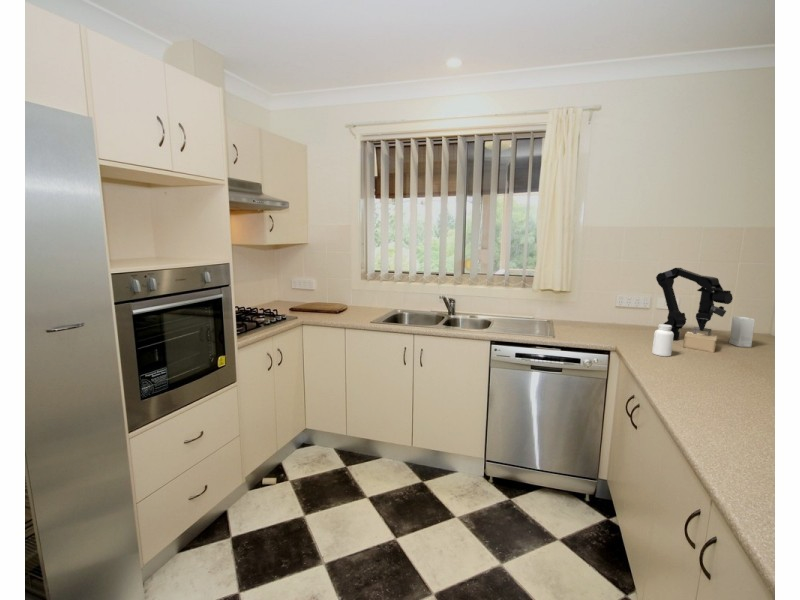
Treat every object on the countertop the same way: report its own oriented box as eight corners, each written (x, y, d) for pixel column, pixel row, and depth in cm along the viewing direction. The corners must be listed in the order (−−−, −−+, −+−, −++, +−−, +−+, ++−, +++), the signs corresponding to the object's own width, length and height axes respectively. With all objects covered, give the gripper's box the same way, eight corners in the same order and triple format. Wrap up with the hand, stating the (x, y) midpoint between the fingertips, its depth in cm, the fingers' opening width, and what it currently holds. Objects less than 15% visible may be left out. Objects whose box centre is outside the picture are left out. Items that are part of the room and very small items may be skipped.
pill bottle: (668, 353, 196) (672, 324, 193) (673, 357, 188) (677, 327, 186) (649, 351, 198) (653, 322, 196) (654, 355, 191) (658, 326, 189)
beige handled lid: (684, 336, 206) (685, 328, 206) (687, 332, 215) (688, 325, 214) (715, 340, 198) (717, 333, 197) (717, 337, 206) (718, 329, 205)
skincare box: (751, 347, 210) (756, 319, 207) (737, 346, 211) (742, 318, 209) (741, 343, 218) (745, 316, 215) (727, 342, 219) (732, 315, 217)
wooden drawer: (683, 347, 207) (684, 336, 206) (685, 343, 216) (687, 332, 215) (714, 352, 199) (715, 341, 198) (715, 348, 207) (717, 337, 206)
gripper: (725, 305, 194) (720, 335, 196) (727, 300, 207) (722, 329, 210) (698, 302, 201) (693, 331, 203) (701, 298, 215) (696, 325, 217)
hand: (702, 329), depth 208 cm, fingers open, 9 cm apart
